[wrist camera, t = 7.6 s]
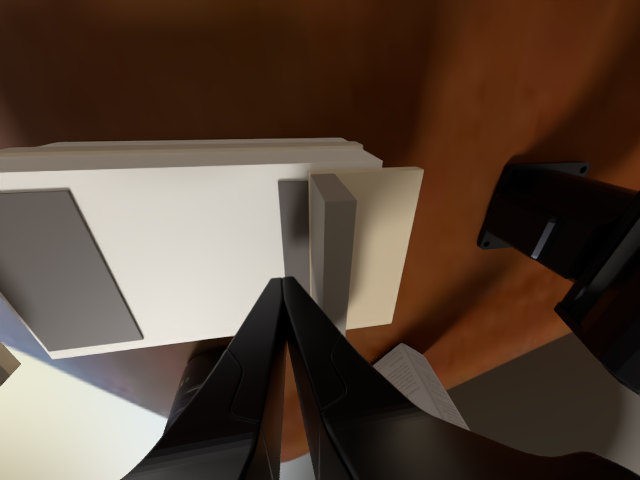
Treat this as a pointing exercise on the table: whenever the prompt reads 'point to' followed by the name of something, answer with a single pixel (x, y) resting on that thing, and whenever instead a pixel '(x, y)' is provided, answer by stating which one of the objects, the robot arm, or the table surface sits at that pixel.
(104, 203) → the carton
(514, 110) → the table surface
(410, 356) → the skincare box
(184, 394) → the supplement bottle
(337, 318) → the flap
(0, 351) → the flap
